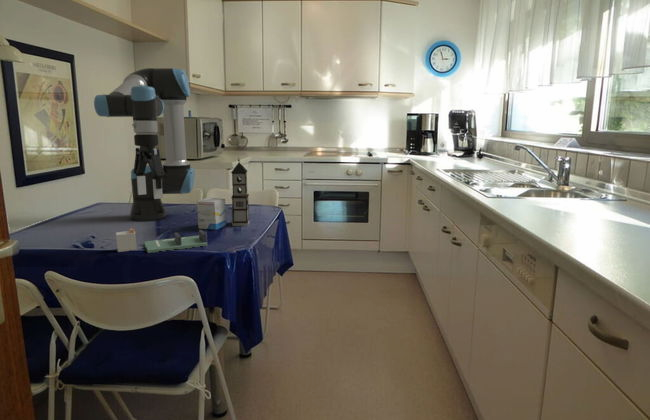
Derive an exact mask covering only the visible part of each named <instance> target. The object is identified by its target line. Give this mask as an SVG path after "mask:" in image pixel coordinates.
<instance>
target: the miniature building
mask: <svg viewBox="0 0 650 420" xmlns="http://www.w3.org/2000/svg"><path fill="white" fill-rule="evenodd" d="M237 161H238V163H237V164H236V166H235V167H234V168H233V170H232V171H231V172H230V173H231V181H232V195H231V201H232V205H231V206H232V207H231V208H232V209H231V226H232V227H249V225H250V217H249V215H250V212H249V211H250V210H249V208H250V207H249V195H250V194H249V193H248V179H247V178H248V177H247V176H248V174H247V173H248V170H247V169H246V167H244V166H243V165H242V164H241V162H240V161H241V159H240V158H238V159H237Z"/></svg>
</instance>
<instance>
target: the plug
mask: <svg viewBox="0 0 650 420" xmlns="http://www.w3.org/2000/svg"><path fill="white" fill-rule="evenodd" d="M115 237H116V239H115V240H116V248H117V249H118V250H117V252H118V253H122V252H130V250H131V251H137V249H138V248H137V235H136V231H135V229H134V228H129V230H127V231H117V232H115Z"/></svg>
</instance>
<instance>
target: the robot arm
mask: <svg viewBox="0 0 650 420" xmlns="http://www.w3.org/2000/svg"><path fill="white" fill-rule="evenodd" d="M188 97H189V98H190V97H191V89H190V82H189V79H188V76H187V73H186V71H185V70H184V69H181V68H175V67H174V68H171V67H170V68H167V67H166V68H165V67H164V68H161V67H160V68H151V67H150V68H148V67H147V68H142V69H138V70H135V71H134V72H131V73H130V74H128V75H126V76H125V77H124V79H123V81H122V83H121V84H120V85H119V86H118V87H115V89H113V90H112V91H111V92H109V94H104V93H103V94H97V95H96V96H94V99H93V100H94V101H93V105H94V110H95V113H96V115H98V117H107V118H113V117H114V118H123V117H125V118H131V117H132V124H131V125H132V128H133V132H134V135H133V138H134V140H133V141H134V146H136V147H135V159H134V164H133V169H131V172H130V175H131V176H130V180H131V181H130V182H131V191H132V206H131V209H130V212H129V217H130V220H132V221H136V222H138V221H139V222H143V221H144V222H145V221H155V220H161V219H164V218H166V217H167V211H166V208H165V207H164V204H163V201H162V199H164V198H163V197H164V196H163V195H183V194H185V195H186V194H190V193H191V192H192V191H193V189H194V185H195V184H194V183H195V169H194V168H195V167H191V163H190V162H189V161H188V160H187V149H186V148H187V147H186V131H185V130H186V129H185V112H184V105H185V103H187V102H188V101H187V98H188ZM162 114H163V116H162V117H163V130H164V132H163V133H164V146H165V149H164V150H165V161H164V163H163V162H162V159H161V156H160V149H159V148H155V147H157V146H158V145H159V135H158V134H157V133H158V132H159V131H158V130H159V129H158V126H159V125H158V117H160V116H161V115H162Z"/></svg>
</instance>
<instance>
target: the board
mask: <svg viewBox="0 0 650 420" xmlns="http://www.w3.org/2000/svg"><path fill="white" fill-rule="evenodd" d="M173 233H174V235H173V236H174V237H173V238H163V239H156V240H155V239H154V240H147V241H144V242H143V245H144V247H145V249H147V250H146V252H147V254H151V253H153V254H154V253H160V252H159V251H162V252H167V251H166V250H170V251H175V250H174V249H179V250H185V248H187V249H193V248H192V247H195V248H201V247H200V246H203V247H208V246H209V244H208V242H207V234H206V232H205V231H204V229H199V230H198V235H192V236H190V235H189V236H183V237H182V236H181V235H180V233H179V232H178V231H177V232H173Z"/></svg>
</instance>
